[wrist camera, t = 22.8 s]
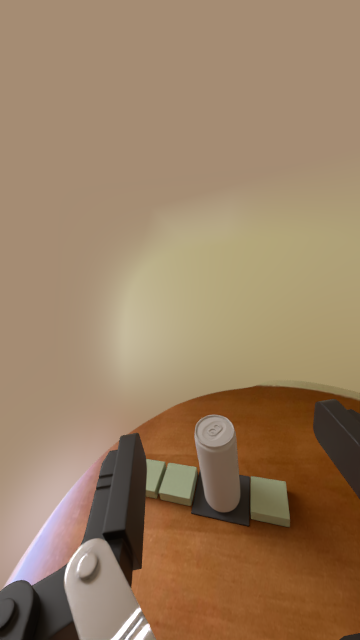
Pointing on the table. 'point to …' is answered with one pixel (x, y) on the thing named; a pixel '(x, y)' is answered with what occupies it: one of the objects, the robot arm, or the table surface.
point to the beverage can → (218, 462)
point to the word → (180, 488)
